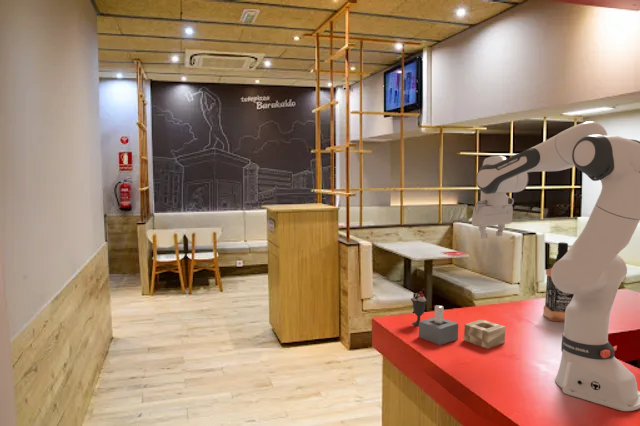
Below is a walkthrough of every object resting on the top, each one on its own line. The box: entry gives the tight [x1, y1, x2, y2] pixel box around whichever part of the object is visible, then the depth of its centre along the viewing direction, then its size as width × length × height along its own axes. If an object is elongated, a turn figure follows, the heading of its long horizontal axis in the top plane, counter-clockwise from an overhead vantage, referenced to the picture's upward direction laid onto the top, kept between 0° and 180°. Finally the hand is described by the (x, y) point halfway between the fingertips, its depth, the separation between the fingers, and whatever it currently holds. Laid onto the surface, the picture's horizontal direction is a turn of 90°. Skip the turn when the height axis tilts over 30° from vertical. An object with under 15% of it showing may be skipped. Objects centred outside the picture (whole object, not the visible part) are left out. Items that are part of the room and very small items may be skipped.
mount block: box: [463, 319, 506, 350], centre depth 173 cm, size 10×10×6 cm
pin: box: [434, 304, 445, 326], centre depth 176 cm, size 3×3×12 cm
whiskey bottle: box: [542, 242, 574, 323], centre depth 199 cm, size 10×10×32 cm
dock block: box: [418, 317, 459, 346], centre depth 177 cm, size 10×10×6 cm
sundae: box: [410, 288, 429, 327], centre depth 192 cm, size 7×7×15 cm
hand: (491, 237), depth 178 cm, fingers open, 8 cm apart
